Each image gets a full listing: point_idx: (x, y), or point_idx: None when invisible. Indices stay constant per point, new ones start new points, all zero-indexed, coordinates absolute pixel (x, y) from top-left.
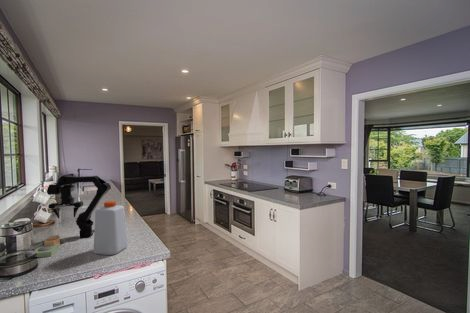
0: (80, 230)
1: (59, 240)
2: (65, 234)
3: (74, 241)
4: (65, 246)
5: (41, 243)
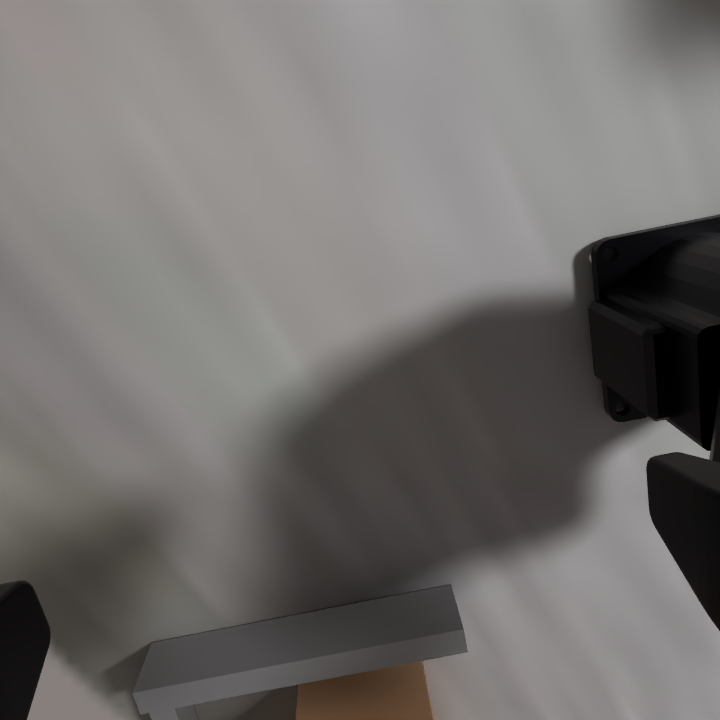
0: (676, 426)
1: (431, 710)
2: (195, 155)
3: (581, 545)
4: (543, 714)
5: (169, 717)
